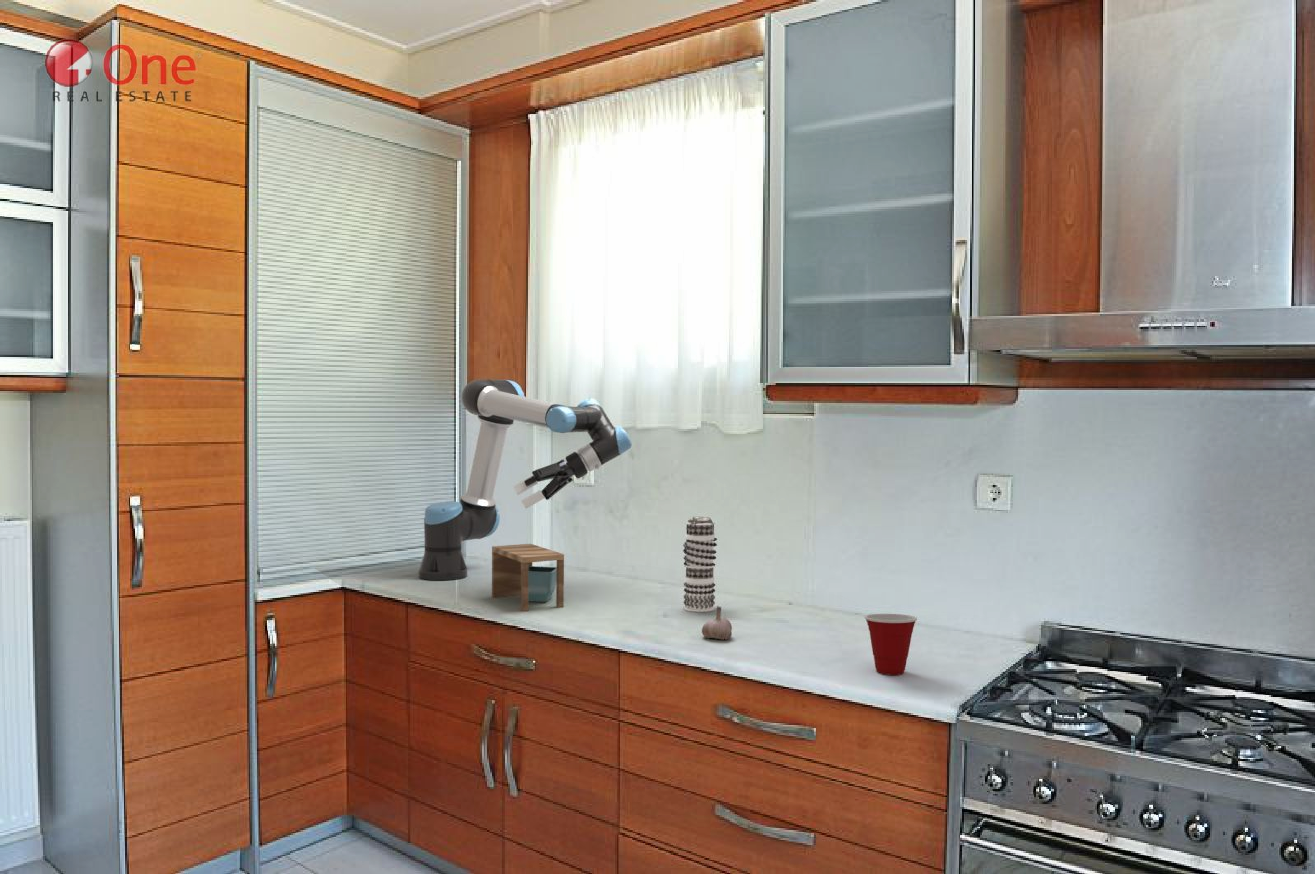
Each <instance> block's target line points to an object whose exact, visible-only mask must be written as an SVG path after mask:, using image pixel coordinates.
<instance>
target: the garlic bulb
mask: <svg viewBox="0 0 1315 874" xmlns="http://www.w3.org/2000/svg"><path fill="white" fill-rule="evenodd" d="M715 612H716V613H715V616H716V617H715V618H713V619H712V620H708V621H707V622H705V623H704V624H703V626H702V629H701V634H702V636H703V637H704V638H707V639H709V638H715V639H714V640H722V641H723V640H724V639H725V640H724V641H729V640H730V639H731V638H732V634H733V633H732V630H733V626H732V623H731V622H730V620H728V618H724V617H722V606H720V605H716V611H715Z"/></svg>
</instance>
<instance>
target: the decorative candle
mask: <svg viewBox="0 0 1315 874" xmlns="http://www.w3.org/2000/svg"><path fill="white" fill-rule="evenodd" d="M685 524H686V530H685V531H686V533H685V542H683V545H682V546H683V547H684V549H682V551H683V553H684V554H685V555H684V556H683V560H684V562H683V566H684V567H685V577H684V581H685V582H684V583H683V587H685V588H684V589H683V591H684V593H685V594H684V595H683V599H684V600H683V602H682V603H683V604H684V606H683V609H684V610H685V611H688V612H696V613H697V612H698V613H705V612H712V611H715V609H716V608H715V604H716V601H715V599H716V596H715V595H714V593H715V592H716V589H715V588H714V587H715V586H716V583H714V582H715V577H714V568H715V567H716V563H714V560H716V559H717V557H716V556H715V554H716V553H717V551H716V549H714V547H716V546H718V543H716V541H717V540H718V538H716V537H715V522H713V520H712V519H711V518H710V517H708V516H691V517H690V518H689V517H688V520H687V521H686V522H685Z"/></svg>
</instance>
